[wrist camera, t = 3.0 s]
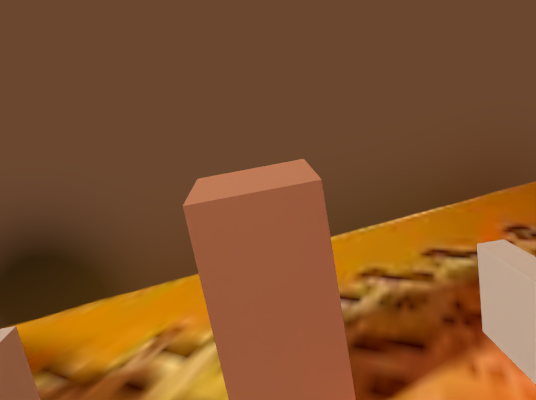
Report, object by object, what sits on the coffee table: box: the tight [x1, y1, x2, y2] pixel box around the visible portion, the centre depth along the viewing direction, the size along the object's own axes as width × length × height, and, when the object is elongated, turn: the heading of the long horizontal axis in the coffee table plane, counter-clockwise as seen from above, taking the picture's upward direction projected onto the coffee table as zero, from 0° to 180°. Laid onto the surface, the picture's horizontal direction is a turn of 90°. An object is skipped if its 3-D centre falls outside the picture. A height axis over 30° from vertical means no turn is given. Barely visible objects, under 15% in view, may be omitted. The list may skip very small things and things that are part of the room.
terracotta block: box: [183, 159, 356, 400], centre depth 23 cm, size 6×6×12 cm
